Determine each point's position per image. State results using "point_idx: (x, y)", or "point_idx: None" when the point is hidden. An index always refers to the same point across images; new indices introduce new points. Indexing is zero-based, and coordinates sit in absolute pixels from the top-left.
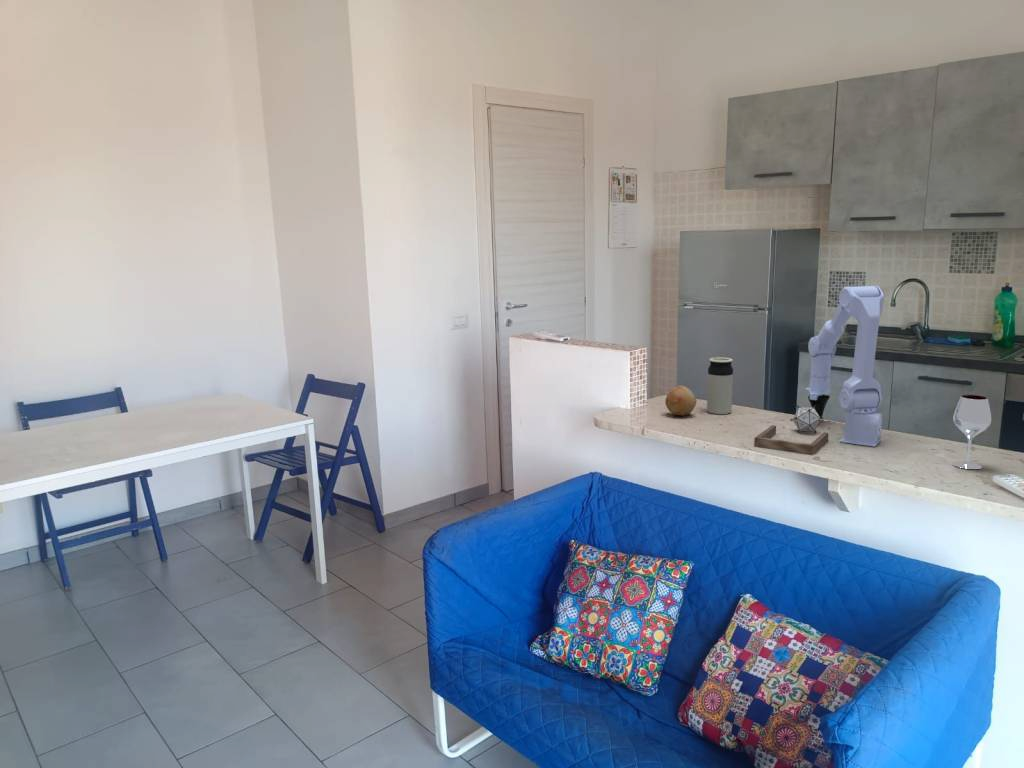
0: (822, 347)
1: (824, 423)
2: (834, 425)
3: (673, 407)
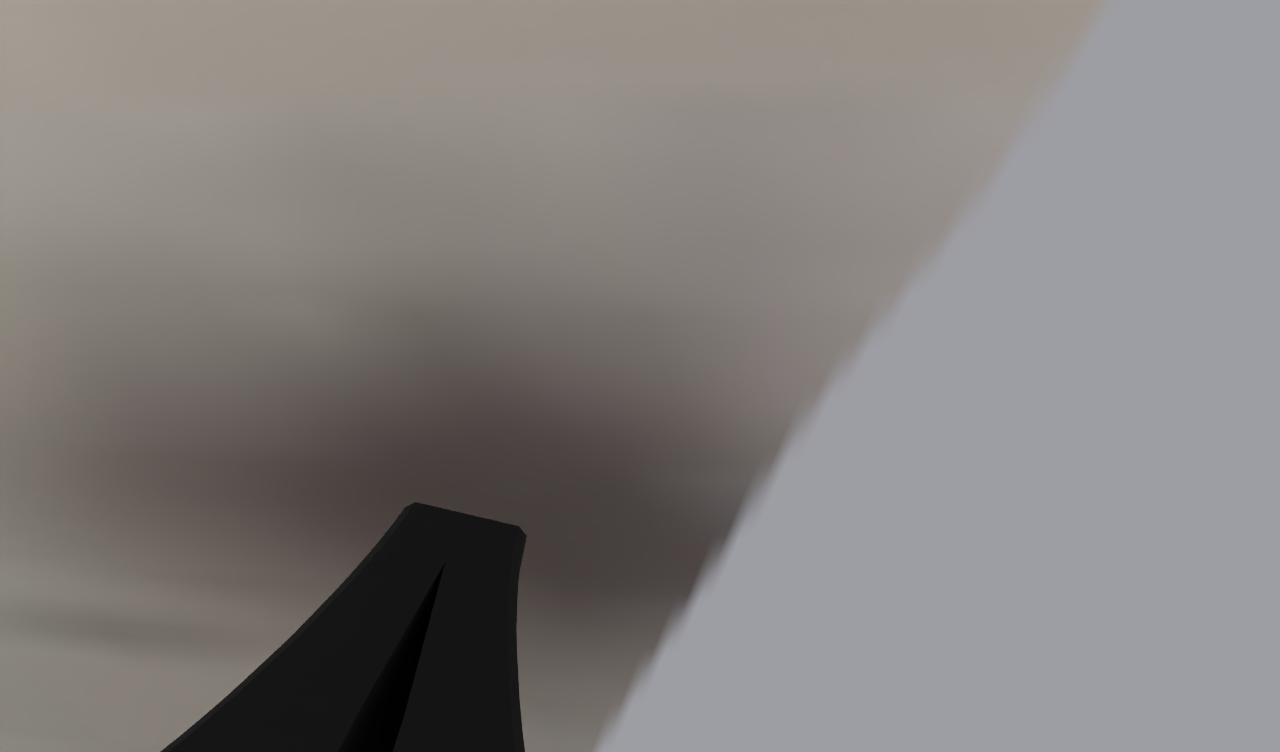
0: None
1: None
2: None
3: None
